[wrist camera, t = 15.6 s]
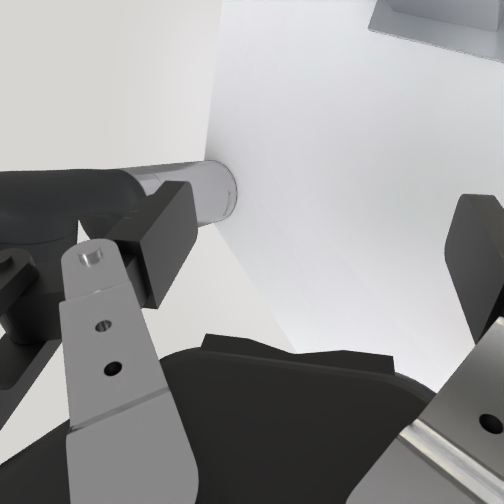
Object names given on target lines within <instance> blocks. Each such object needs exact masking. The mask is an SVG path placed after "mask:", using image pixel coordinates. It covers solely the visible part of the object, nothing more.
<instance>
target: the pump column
mask: <svg viewBox="0 0 504 504" xmlns="http://www.w3.org/2000/svg"><path fill="white" fill-rule="evenodd" d="M368 29H369V30H370V31H373V32H378V33H382V34H386V35H390V36H394V37H398V38H403V39H407V40H411V41H415V42H419V43H424V44H428V45H432V46H436V47H440V48H444V49H449V50H453V51H457V52H461V53H465V54H470V55H474V56H478V57H482V58H486V59H490V60H495V61H499V62H503V63H504V0H378V1H377V4H376V6H375V9H374V12H373V15H372V17H371V20H370V23H369V26H368Z"/></svg>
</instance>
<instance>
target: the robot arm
mask: <svg viewBox="0 0 504 504" xmlns="http://www.w3.org/2000/svg"><path fill="white" fill-rule="evenodd" d="M236 199H237V190H236V184H235V181H234V179H233V177H232V175H231V173H230V172H229V170H228V169H227V168H226V167H225V166H223V165H222V164H221V163H218V162H216V161H211V160H209V161H198V162H186V163H174V164H162V165H152V166H141V167H130V168H120V169H108V170H100V169H69V170H47V171H4V172H0V324H1V325H2V327H3V328H4V330H5V331H6V333H5V334H4V335H3V337H2V338H1V339H0V430H1V429H2V427H3V426H4V425H5V423H6V422H7V420H8V419H9V417H10V416H11V414H12V413H13V412H14V410H15V409H16V407H17V406H18V404H19V403H20V402H21V400H22V399H23V397H24V396H25V394H26V393H27V391H28V390H29V389H30V387H31V386H32V384H33V383H34V381H35V380H36V379H37V377H38V376H39V374H40V373H41V371H42V370H43V368H44V367H45V366H46V364H47V363H48V361H49V360H50V358H51V357H52V356H53V354H54V353H55V351H56V350H57V348H58V347H59V346H60V344H61V343H62V342H63V353H64V363H65V374H66V383H67V394H68V404H69V416H70V419H68V420H67V421H65V422H64V423H62V424H61V425H59V426H58V427H56V428H55V429H53V430H52V431H50V432H49V433H47V434H46V435H44V436H43V437H41V438H40V439H39V440H37V441H35V442H34V443H32V444H31V445H29V446H28V447H26V448H25V449H23V450H22V451H20V452H19V453H17V454H16V455H14V456H13V457H11V458H10V459H8V460H7V461H5V462H4V463H2V464H1V465H0V504H504V209H503V208H502V206H501V205H500V203H499V202H498V200H497V199H496V197H495V196H493V195H478V194H463V195H461V197H460V198H459V200H458V203H457V206H456V210H455V213H454V216H453V219H452V223H451V226H450V229H449V233H448V236H447V239H446V243H445V261H446V264H447V267H448V270H449V273H450V275H451V278H452V281H453V284H454V287H455V289H456V292H457V295H458V298H459V301H460V303H461V306H462V309H463V312H464V315H465V317H466V320H467V323H468V326H469V328H470V331H471V334H472V337H473V340H474V342H475V345H476V346H475V347H474V348H473V350H472V351H471V352H470V353H469V355H468V356H467V357H466V358H465V360H464V361H463V362H462V363H461V365H460V366H459V367H458V368H457V370H456V371H455V372H454V373H453V375H452V376H451V377H450V378H449V379H448V381H447V382H446V383H445V384H444V386H443V387H442V388H441V389H440V391H439V392H438V393H435V392H434V391H432V390H431V389H429V388H428V387H426V386H425V385H423V384H421V383H419V382H417V381H416V380H414V379H412V378H409V377H407V376H405V375H403V374H400V373H397V372H395V369H394V362H393V356H388V355H380V354H372V353H363V352H355V351H347V350H339V351H327V352H316V353H304V354H292V353H288V352H286V351H283V350H280V349H277V348H274V347H271V346H268V345H265V344H263V343H259V342H257V341H254V340H251V339H247V338H239V337H230V336H222V335H214V334H206V335H205V337H204V340H203V342H202V345H201V347H196V348H191V349H186V350H182V351H179V352H175V353H173V354H170V355H168V356H165V357H164V358H162V359H160V360H158V357H157V354H156V351H155V348H154V345H153V343H152V340H151V337H150V334H149V331H148V329H147V326H146V323H145V320H144V317H143V314H142V311H141V309H142V308H150V309H158V308H159V306H160V304H161V302H162V300H163V299H164V297H165V295H166V293H167V292H168V290H169V288H170V286H171V285H172V283H173V281H174V279H175V277H176V276H177V274H178V272H179V270H180V268H181V267H182V265H183V263H184V261H185V260H186V258H187V256H188V254H189V252H190V251H191V249H192V247H193V245H194V243H195V242H196V239H197V234H198V227H201V226H204V225H208V224H211V223H214V222H217V221H220V220H223V219H225V218H226V217H228V216H229V215H230V214H231V212H232V211H233V209H234V206H235V204H236ZM78 220H79V221H80V223H81V225H82V227H83V229H84V231H85V232H86V234H87V235H88V237H89V238H90V239H91V240H87V241H84V242H81V243H79V244H77V234H78Z"/></svg>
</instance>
